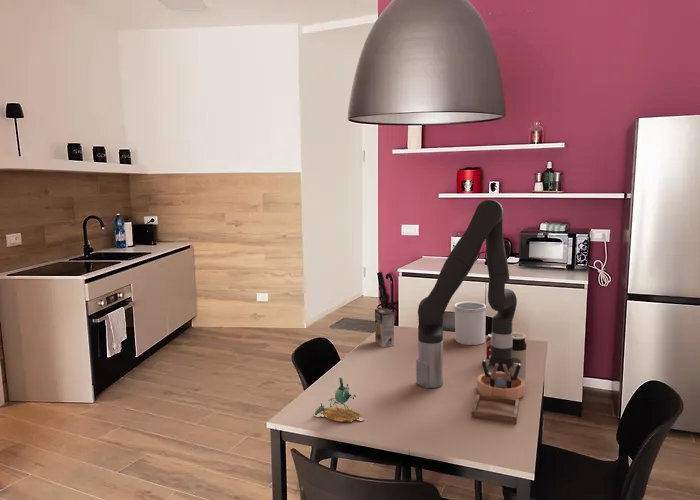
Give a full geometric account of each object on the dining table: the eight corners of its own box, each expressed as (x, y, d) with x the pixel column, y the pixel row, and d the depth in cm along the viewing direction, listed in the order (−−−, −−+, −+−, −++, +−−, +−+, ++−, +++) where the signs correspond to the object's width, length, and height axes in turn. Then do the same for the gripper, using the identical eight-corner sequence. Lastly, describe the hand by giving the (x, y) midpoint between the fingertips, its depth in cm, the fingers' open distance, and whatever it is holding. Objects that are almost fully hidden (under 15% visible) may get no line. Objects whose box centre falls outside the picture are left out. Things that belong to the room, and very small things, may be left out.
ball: (501, 392, 187) (501, 380, 187) (492, 388, 191) (492, 377, 190) (509, 389, 190) (509, 378, 189) (500, 385, 193) (500, 374, 193)
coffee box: (374, 341, 250) (374, 309, 247) (387, 340, 252) (387, 307, 249) (381, 347, 241) (381, 313, 239) (394, 346, 243) (394, 312, 241)
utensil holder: (456, 345, 241) (456, 309, 239) (451, 336, 256) (451, 301, 254) (488, 345, 241) (489, 308, 238) (481, 335, 255) (482, 301, 253)
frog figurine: (321, 407, 181) (324, 366, 178) (369, 420, 175) (373, 379, 172) (308, 418, 172) (312, 376, 170) (359, 433, 166) (363, 390, 163)
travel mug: (506, 375, 205) (507, 331, 203) (527, 378, 201) (528, 333, 199) (501, 382, 198) (502, 336, 196) (522, 386, 194) (524, 339, 192)
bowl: (523, 403, 180) (523, 392, 179) (474, 397, 186) (475, 386, 185) (525, 385, 195) (525, 375, 194) (480, 380, 201) (480, 370, 200)
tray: (516, 424, 165) (516, 417, 165) (471, 417, 170) (471, 410, 170) (518, 405, 178) (519, 399, 178) (477, 400, 183) (477, 394, 183)
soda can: (500, 360, 221) (501, 333, 220) (504, 366, 215) (504, 338, 213) (484, 360, 222) (485, 333, 220) (487, 365, 215) (487, 338, 214)
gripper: (522, 342, 189) (521, 387, 191) (482, 339, 194) (481, 382, 196) (521, 349, 182) (520, 395, 184) (480, 345, 187) (479, 390, 189)
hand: (500, 388), depth 190 cm, fingers closed on bowl, 4 cm apart
